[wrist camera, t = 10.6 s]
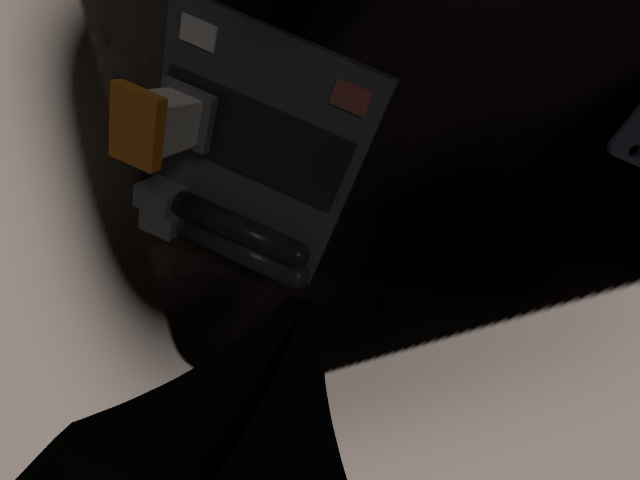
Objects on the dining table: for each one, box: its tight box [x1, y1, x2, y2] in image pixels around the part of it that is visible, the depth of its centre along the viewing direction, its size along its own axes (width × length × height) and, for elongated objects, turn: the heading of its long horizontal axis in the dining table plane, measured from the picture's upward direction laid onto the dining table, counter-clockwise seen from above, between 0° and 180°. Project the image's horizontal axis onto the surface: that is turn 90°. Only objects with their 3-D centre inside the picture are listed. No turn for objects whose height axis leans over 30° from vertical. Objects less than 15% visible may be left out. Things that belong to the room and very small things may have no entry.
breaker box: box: [132, 0, 400, 289], centre depth 17 cm, size 10×11×5 cm
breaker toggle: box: [109, 76, 219, 174], centre depth 14 cm, size 2×3×4 cm
